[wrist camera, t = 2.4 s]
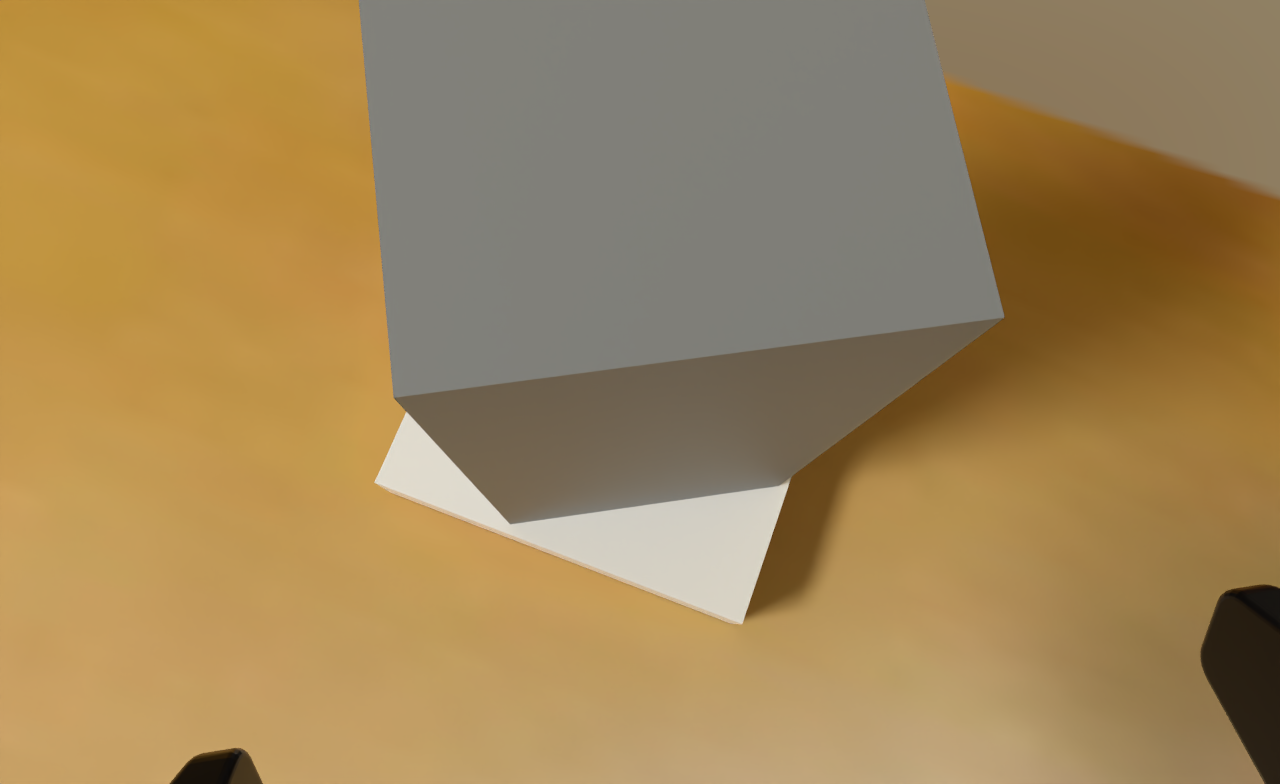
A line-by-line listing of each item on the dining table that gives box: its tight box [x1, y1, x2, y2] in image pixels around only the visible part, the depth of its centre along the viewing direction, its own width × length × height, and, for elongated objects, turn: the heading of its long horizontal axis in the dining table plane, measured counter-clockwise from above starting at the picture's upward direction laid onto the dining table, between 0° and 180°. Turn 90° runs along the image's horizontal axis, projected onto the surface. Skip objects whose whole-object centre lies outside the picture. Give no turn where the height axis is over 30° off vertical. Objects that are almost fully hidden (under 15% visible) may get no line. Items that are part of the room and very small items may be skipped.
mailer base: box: [375, 412, 792, 624], centre depth 19 cm, size 8×8×5 cm
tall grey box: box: [359, 0, 1005, 524], centre depth 14 cm, size 6×6×11 cm
